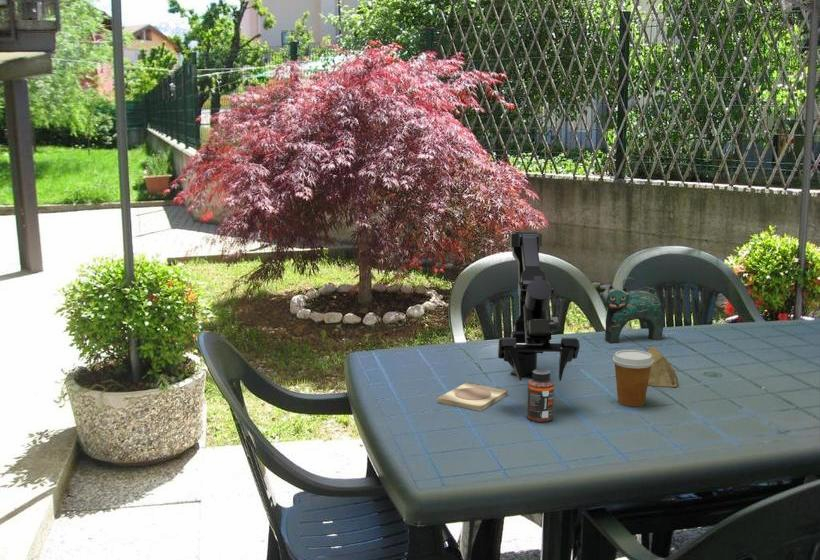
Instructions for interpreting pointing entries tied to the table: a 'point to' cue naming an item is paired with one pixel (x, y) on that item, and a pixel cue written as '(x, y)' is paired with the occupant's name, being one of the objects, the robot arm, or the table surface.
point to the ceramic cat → (632, 311)
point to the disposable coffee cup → (632, 376)
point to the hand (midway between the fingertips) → (540, 380)
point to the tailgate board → (472, 396)
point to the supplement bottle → (540, 396)
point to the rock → (661, 370)
